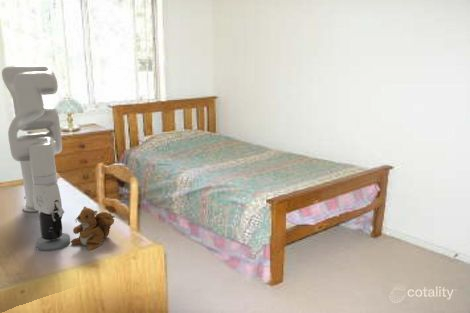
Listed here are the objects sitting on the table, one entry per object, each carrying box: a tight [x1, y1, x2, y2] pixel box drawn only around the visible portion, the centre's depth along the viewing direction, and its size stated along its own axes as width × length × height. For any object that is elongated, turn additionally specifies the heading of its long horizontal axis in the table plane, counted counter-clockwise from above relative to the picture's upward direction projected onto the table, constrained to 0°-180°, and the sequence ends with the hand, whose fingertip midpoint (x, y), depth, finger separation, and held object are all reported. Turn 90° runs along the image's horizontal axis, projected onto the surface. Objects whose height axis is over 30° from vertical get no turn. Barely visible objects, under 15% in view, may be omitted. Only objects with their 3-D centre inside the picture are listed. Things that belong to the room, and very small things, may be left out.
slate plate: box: [35, 232, 71, 252], centre depth 148 cm, size 11×11×2 cm
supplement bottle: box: [38, 209, 63, 240], centre depth 146 cm, size 7×7×12 cm
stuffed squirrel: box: [70, 206, 116, 251], centre depth 148 cm, size 10×14×13 cm
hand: (51, 227), depth 147 cm, fingers closed on supplement bottle, 6 cm apart
